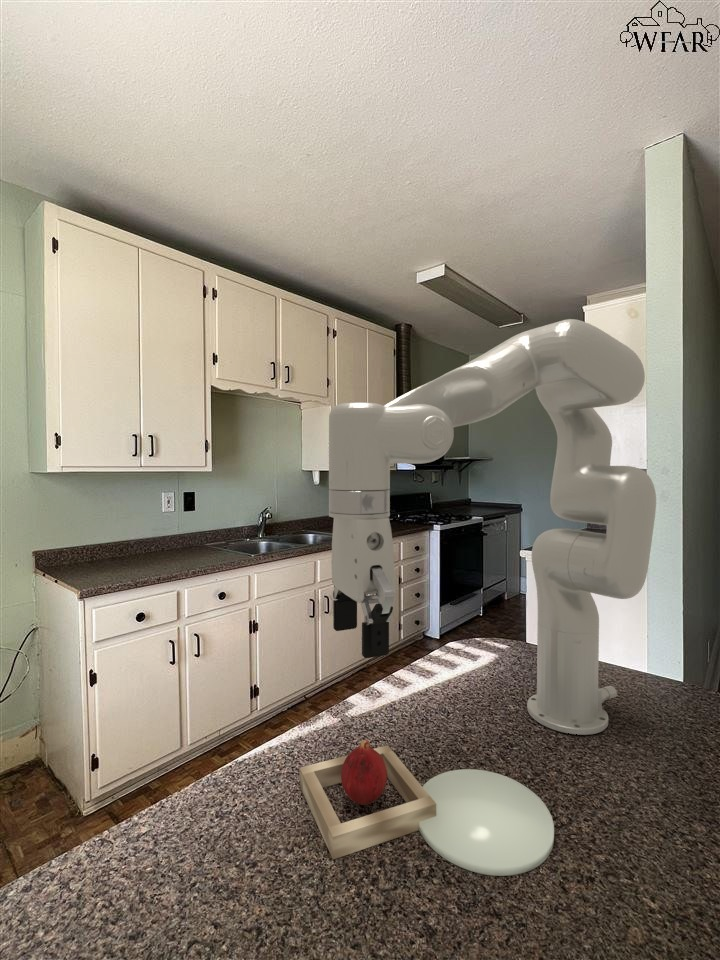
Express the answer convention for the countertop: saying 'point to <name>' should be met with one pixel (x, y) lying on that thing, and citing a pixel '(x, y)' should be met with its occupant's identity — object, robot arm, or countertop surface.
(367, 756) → the onion
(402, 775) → the frame
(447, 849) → the plate
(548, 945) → the countertop surface
